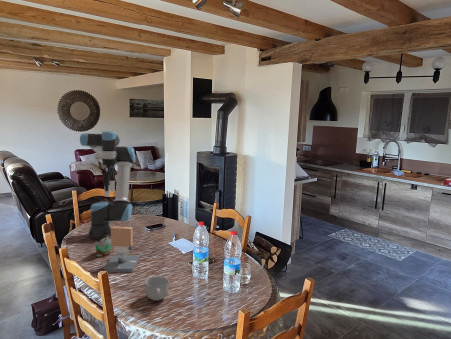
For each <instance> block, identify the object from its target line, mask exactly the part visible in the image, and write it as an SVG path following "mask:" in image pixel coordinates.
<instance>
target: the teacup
mask: <svg viewBox="0 0 451 339" xmlns="http://www.w3.org/2000/svg"><path fill="white" fill-rule="evenodd" d="M144 283H145V284H144V289H145V290H144V291H145V292H144V294H145V296H146V297H147V298H149V300H151V301H161V300H162V299H164V298H165V297H167V296H168V293H169V288H170V280H169V278H167V277H165V276H162V275H160V276H159V275H154V276H150V277H148V278H146V279H145V281H144Z"/></svg>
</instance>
